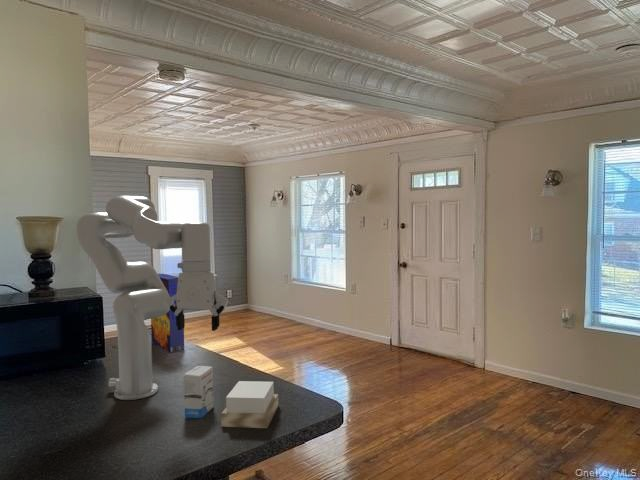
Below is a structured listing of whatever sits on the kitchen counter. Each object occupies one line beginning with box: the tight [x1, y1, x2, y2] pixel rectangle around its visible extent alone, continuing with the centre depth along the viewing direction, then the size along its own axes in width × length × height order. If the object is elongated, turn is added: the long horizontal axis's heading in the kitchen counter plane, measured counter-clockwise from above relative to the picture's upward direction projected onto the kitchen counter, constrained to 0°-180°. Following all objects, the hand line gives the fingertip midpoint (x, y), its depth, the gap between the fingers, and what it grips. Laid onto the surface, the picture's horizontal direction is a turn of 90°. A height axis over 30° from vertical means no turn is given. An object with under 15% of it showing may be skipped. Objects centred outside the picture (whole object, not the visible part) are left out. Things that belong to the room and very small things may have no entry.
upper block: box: [225, 380, 275, 414], centre depth 124 cm, size 10×12×4 cm
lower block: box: [220, 393, 279, 429], centre depth 125 cm, size 12×14×4 cm
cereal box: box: [150, 273, 185, 354], centre depth 194 cm, size 22×6×30 cm, turn 39°
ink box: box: [183, 365, 215, 419], centre depth 127 cm, size 9×5×12 cm, turn 168°
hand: (198, 329), depth 126 cm, fingers open, 9 cm apart
